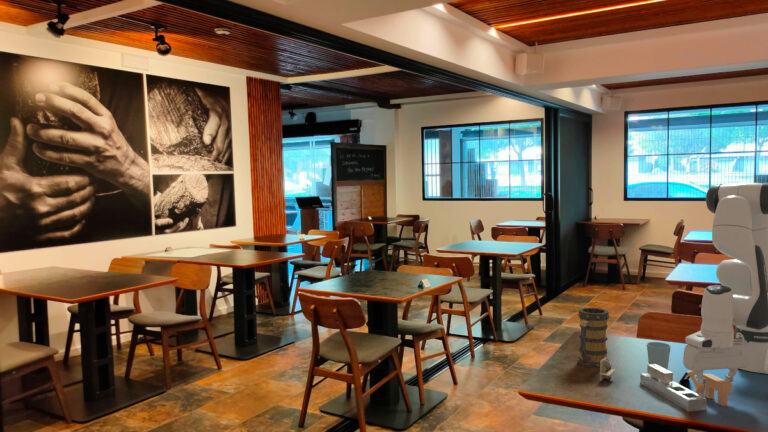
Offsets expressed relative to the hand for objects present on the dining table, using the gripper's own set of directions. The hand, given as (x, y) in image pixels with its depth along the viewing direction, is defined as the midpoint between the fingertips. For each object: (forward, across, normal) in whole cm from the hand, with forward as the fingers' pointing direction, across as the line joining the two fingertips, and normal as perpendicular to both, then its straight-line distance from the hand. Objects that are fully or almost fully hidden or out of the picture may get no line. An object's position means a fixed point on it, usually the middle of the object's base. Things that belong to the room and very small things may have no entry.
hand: (715, 382), depth 179 cm
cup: (+6, +2, -26) cm, 27 cm away
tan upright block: (+6, 0, 0) cm, 6 cm away
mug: (+6, +20, -40) cm, 45 cm away
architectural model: (+7, +23, -24) cm, 34 cm away
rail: (+6, +11, -6) cm, 14 cm away
